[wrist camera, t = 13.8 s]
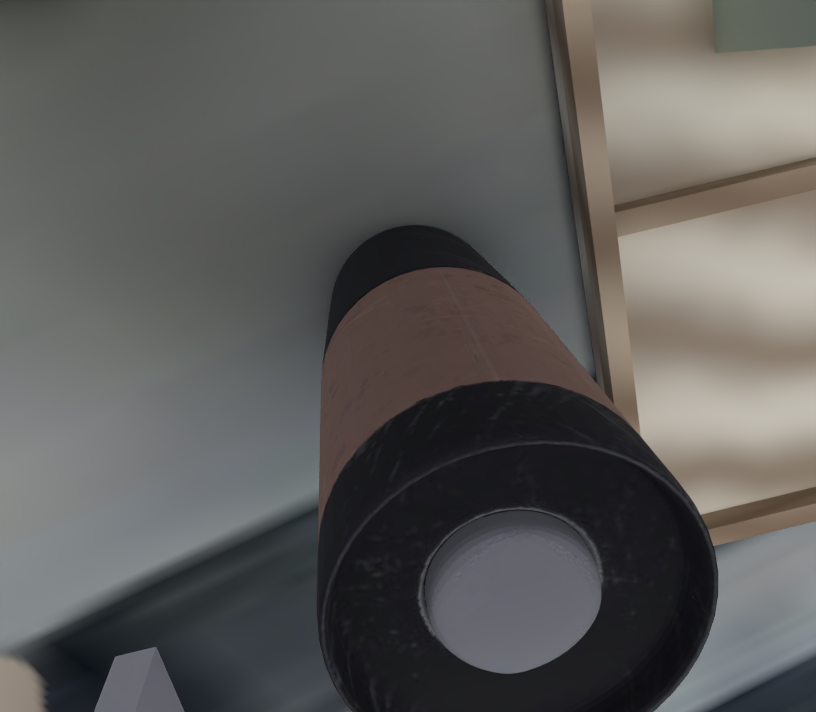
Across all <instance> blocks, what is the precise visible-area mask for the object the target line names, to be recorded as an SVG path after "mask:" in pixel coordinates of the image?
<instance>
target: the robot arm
mask: <svg viewBox="0 0 816 712" xmlns="http://www.w3.org/2000/svg"><path fill="white" fill-rule="evenodd" d="M94 712H184V710H183V708H182V705H181V703H180V701H179V698H178V696H177V694H176V691H175V689H174V687H173V685H172V682H171V680H170V678H169V675H168V673H167V671H166V668H165V666H164V664H163V662H162V659H161V657H160V655H159V652H158V650H157V648H156V647H153V648H149V649H145V650H141V651H137V652H133V653H129V654H125V655H121V656H117V657H115V659H114V662H113V664H112V667H111V669H110V672H109V674H108V677H107V680H106V682H105V685H104V687H103V690H102V693H101V695H100V698H99V700H98V703H97V706H96V708H95V711H94Z"/></svg>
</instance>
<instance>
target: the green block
mask: <svg viewBox="0 0 816 712" xmlns="http://www.w3.org/2000/svg"><path fill="white" fill-rule="evenodd" d="M712 4H713V21H714V37H715V53H725V52H739V51H752V50H766V49H780V48H793V47H807V46H816V0H712Z"/></svg>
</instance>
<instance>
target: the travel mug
mask: <svg viewBox="0 0 816 712" xmlns="http://www.w3.org/2000/svg"><path fill="white" fill-rule="evenodd" d="M717 598H718V568H717V562H716V555H715V549H714V546H713V543H712V540H711V537H710V534H709V531H708V528H707V526H706V524H705V522H704V520H703V518H702V517H701V515H700V513H699V511H698V509H697V507H696V505H695V504H694V502H693V501H692V499H691V498H690V497H689V495H688V494H687V493H686V491H685V490H684V489H683V487H682V486H681V485H680V483H679V482H678V481H677V479H676V478H675V477H674V476H673V475H672V473H671V472H670V471H669V470H668V469H667V467H666V466H665V465H664V464H663V463H662V461H661V460H660V459H659V458H658V457H657V455H656V454H655V453H654V452H653V451H652V449H651V448H650V447H649V446H648V445H647V443H646V442H645V441H644V440H643V439H642V437H641V436H640V435H639V434H638V433H637V432H636V430H635V429H634V428H633V427H632V425H631V424H630V423H629V422H628V421H627V419H626V418H625V417H624V416H623V415H622V413H621V412H620V411H619V410H618V409H617V407H616V406H615V405H614V404H613V403H612V401H611V400H610V399H609V398H608V397H607V395H606V394H605V393H604V392H603V391H602V389H601V388H600V387H599V386H598V385H597V383H596V382H595V381H594V380H593V379H592V377H591V376H590V375H589V374H588V373H587V371H586V370H585V369H584V368H583V366H582V365H581V364H580V363H579V362H578V360H577V359H576V358H575V357H574V356H573V354H572V353H571V352H570V351H569V350H568V348H567V347H566V346H565V345H564V344H563V342H562V341H561V340H560V339H559V338H558V336H557V335H556V334H555V333H554V332H553V330H552V329H551V328H550V327H549V326H548V324H547V323H546V322H545V321H544V320H543V318H542V317H541V316H540V315H539V314H538V312H537V311H536V310H535V309H534V308H533V306H532V305H531V304H530V303H529V302H528V301H527V300H526V299H525V298H524V297H523V296H522V295H521V294H520V293H519V292H518V291H517V290H516V289H515V288H514V287H513V286H512V285H511V284H510V283H509V282H508V281H506V280H505V279H504V278H503V277H502V276H501V275H500V274H499V273H498V272H497V271H496V270H495V269H494V268H493V267H492V266H491V265H490V264H489V263H488V262H487V261H486V260H485V259H484V258H483V257H482V256H481V255H480V254H479V253H477V252H476V251H475V250H474V249H473V248H472V247H471V246H470V245H468V244H467V243H466V242H464V241H463V240H461V239H460V238H458V237H456V236H455V235H453V234H451V233H449V232H446V231H443V230H441V229H437V228H433V227H428V226H404V227H398V228H394V229H391V230H387V231H384V232H382V233H380V234H378V235H376V236H374V237H372V238H371V239H369V240H368V241H366V242H365V243H364V244H362V245H361V246H360V247H359V248H357V249H356V251H355V252H354V253H353V254H352V255H351V256H350V257H349V259H348V260H347V261H346V263H345V264H344V266H343V267H342V269H341V271H340V273H339V275H338V278H337V281H336V283H335V286H334V290H333V295H332V299H331V305H330V313H329V320H328V328H327V336H326V343H325V351H324V359H323V368H322V380H321V424H320V475H319V525H318V573H317V618H318V631H319V641H320V645H321V650H322V654H323V658H324V662H325V666H326V668H327V670H328V673H329V675H330V677H331V680H332V682H333V684H334V686H335V688H336V689H337V691H338V692H339V694H340V696H341V697H342V699H343V700H344V702H345V704H346V705H347V706H348V707H349V709H350V710H351V711H352V712H653V711H655V710H656V709H657V708H658V707H659V706H660V705H661V704H662V703H663V702H664V701H665V700H666V699H667V698H668V697H669V696H670V695H671V694H672V693H673V692H674V691H675V690H676V688H677V687H678V686H679V685H680V683H681V682H682V681H683V680H684V678H685V677H686V676H687V675H688V673H689V671H690V670H691V668H692V667H693V665H694V663H695V662H696V660H697V659H698V657H699V655H700V653H701V651H702V649H703V647H704V644H705V642H706V640H707V638H708V636H709V632H710V629H711V626H712V623H713V620H714V616H715V611H716V604H717Z"/></svg>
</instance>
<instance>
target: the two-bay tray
mask: <svg viewBox="0 0 816 712" xmlns="http://www.w3.org/2000/svg"><path fill="white" fill-rule="evenodd" d="M545 5H546V13H547V20H548V27H549V35H550V42H551V49H552V57H553V64H554V71H555V79H556V86H557V93H558V100H559V108H560V115H561V122H562V130H563V137H564V144H565V152H566V159H567V166H568V174H569V181H570V188H571V196H572V203H573V210H574V218H575V225H576V232H577V239H578V247H579V254H580V261H581V269H582V276H583V283H584V291H585V298H586V305H587V313H588V320H589V327H590V335H591V342H592V349H593V356H594V364H595V371H596V378H597V385H598V386H599V387H600V388H601V389H602V391H603V392H604V393H605V394H606V395H607V397H608V398H609V399H610V400H611V401H612V403H613V404H614V405H615V406H616V407H617V409H618V410H619V411H620V412H621V413H622V415H623V416H624V417H625V418H626V419H627V421H628V422H629V423H630V424H631V425H632V427H633V428H634V429H635V430H636V432H637V433H638V434H639V435H640V436H641V437H642V439H643V440H644V441H645V442H646V443H647V445H648V446H649V447H650V448H651V449H652V451H653V452H654V453H655V454H656V455H657V457H658V458H659V459H660V460H661V461H662V463H663V464H664V465H665V466H666V467H667V469H668V470H669V471H670V472H671V473H672V475H673V476H674V477H675V478H676V479H677V481H678V482H679V483H680V485H681V486H682V487H683V489H684V490H685V491H686V493H687V494H688V495H689V497H690V498H691V499H692V501H693V502H694V504H695V505H696V507H697V509H698V511H699V513H700V515H701V517H702V518H703V520H704V522H705V524H706V526H707V528H708V531H709V534H710V537H711V540H712V543H713V546H715V545H719V544H724V543H728V542H732V541H736V540H740V539H744V538H748V537H752V536H756V535H760V534H764V533H769V532H773V531H777V530H781V529H785V528H789V527H793V526H797V525H801V524H805V523H810V522H814V521H816V46H807V47H793V48H780V49H766V50H752V51H739V52H725V53H715V37H714V21H713V4H712V0H545Z"/></svg>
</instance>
